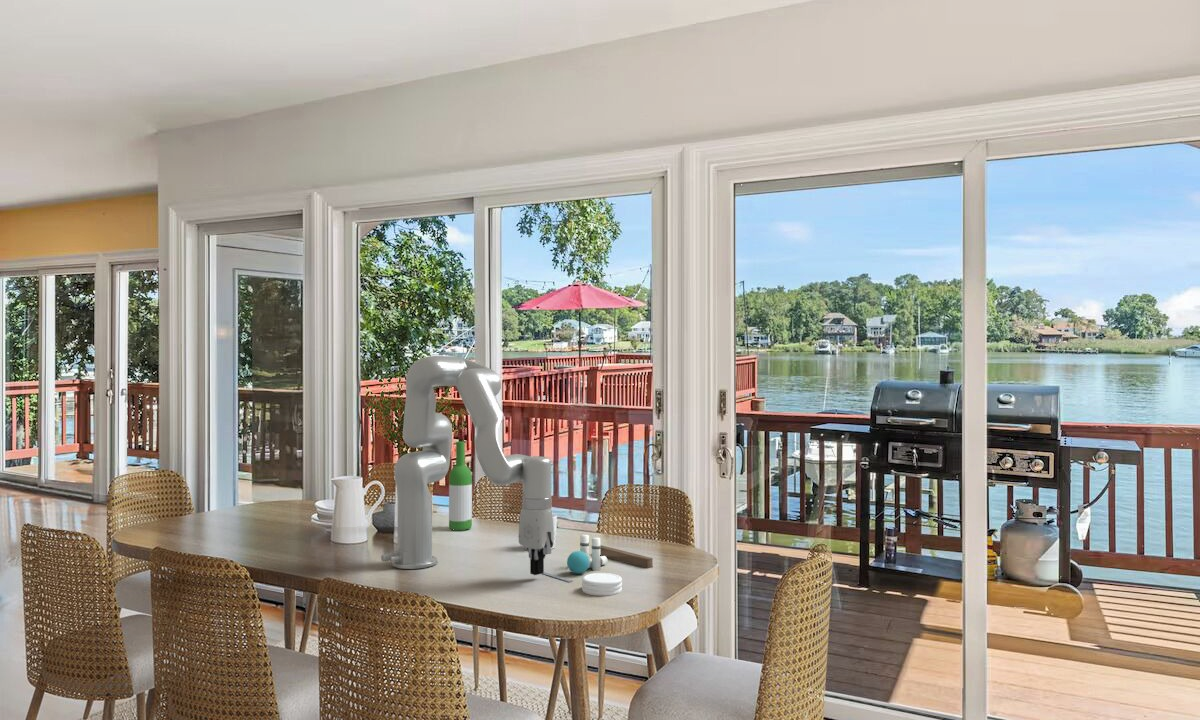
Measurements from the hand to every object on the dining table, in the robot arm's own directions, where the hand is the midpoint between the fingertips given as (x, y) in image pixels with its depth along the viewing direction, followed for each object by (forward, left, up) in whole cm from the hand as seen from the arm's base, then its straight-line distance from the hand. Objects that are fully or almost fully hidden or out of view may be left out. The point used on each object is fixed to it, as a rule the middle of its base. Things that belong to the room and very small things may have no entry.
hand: (537, 573), depth 213 cm
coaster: (+6, -19, -2) cm, 20 cm away
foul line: (+5, 0, -2) cm, 5 cm away
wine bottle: (+20, +70, -2) cm, 73 cm away
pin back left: (+18, +3, -2) cm, 19 cm away
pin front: (+15, 0, 0) cm, 15 cm away
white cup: (+24, +28, -2) cm, 37 cm away
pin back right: (+18, -2, -2) cm, 19 cm away
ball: (+12, -3, +2) cm, 12 cm away
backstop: (+31, 0, -2) cm, 31 cm away
